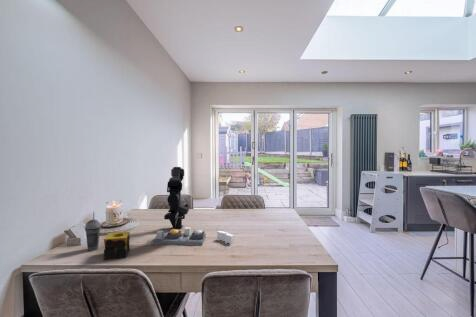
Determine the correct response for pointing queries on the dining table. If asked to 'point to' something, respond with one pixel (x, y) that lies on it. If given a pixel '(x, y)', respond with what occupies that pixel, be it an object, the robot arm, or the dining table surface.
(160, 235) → the grey metal block
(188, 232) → the lever ivory
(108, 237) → the black and yellow box
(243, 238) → the dining table surface
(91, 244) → the beverage cup
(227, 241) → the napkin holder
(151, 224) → the dining table surface
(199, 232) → the button grey
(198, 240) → the control panel
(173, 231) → the button amber
